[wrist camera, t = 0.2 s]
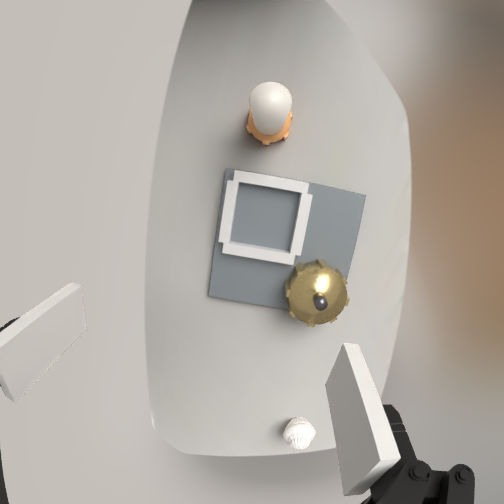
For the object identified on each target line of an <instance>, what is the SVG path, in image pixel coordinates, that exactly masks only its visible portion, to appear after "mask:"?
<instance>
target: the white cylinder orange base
mask: <svg viewBox="0 0 504 504" xmlns="http://www.w3.org/2000/svg"><path fill="white" fill-rule="evenodd" d="M249 102H250V107H251V108H250V109H249V112H250V114H249V117H248V124H249V125H246V127H247V130H248V132H249V134H251V133H252V134H253V136H254V137H255V138H256V139H258V140H260V141H262V144H264V145H269V143H274V142H277V141H280V140H281V139H284V140H285V139H286V138H287V137H288V136H289V134H290V132H289V131H288V130H289V128H290V125H291V120H292V117H293V116H292V114H291V111H290V108H291V105H292V98H291V94H290V92H289V91H288V90H287V88H285V87H284V86H283V85H281V84H279V83H276V82H264V83H261V84H259V85H258V86H256V87H255V88H254V89H253V90H252V92H251V94H250V98H249Z"/></svg>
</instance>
